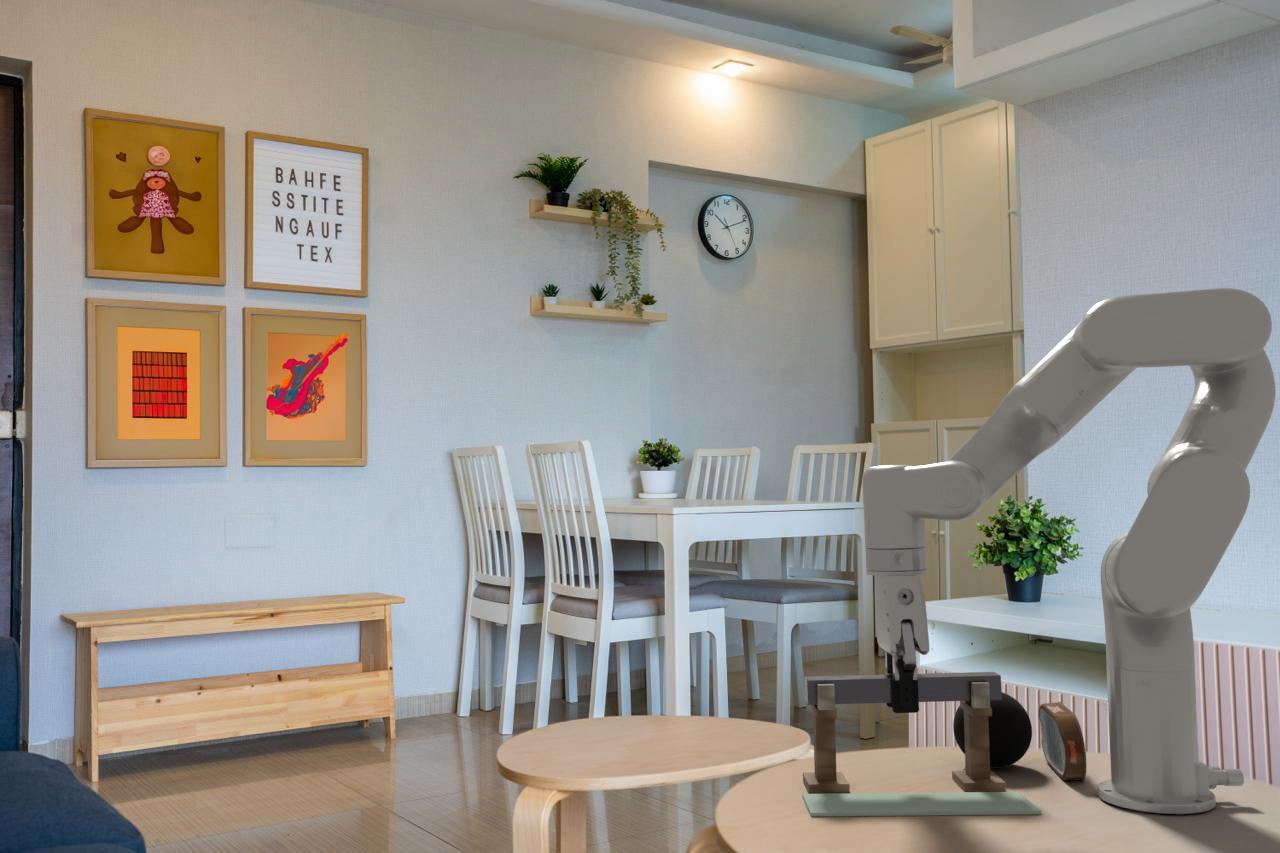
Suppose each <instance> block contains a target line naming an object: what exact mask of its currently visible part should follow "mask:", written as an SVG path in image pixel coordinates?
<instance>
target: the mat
mask: <svg viewBox="0 0 1280 853" xmlns="http://www.w3.org/2000/svg"><path fill="white" fill-rule="evenodd" d="M802 799H803V802H804V803H805V806H806V808H807V811H808V813H809V815H810V817H874V816H875V817H883V816H886V817H887V816H890V817H891V816H894V817H896V816H976V815H977V816H979V815H982V816H983V815H985V816H987V815H989V816H991V815H992V816H993V815H994V816H995V815H997V816H1000V815H1003V816H1004V815H1005V816H1006V815H1042V810H1041V809H1040V808H1039V807H1037V806H1036V805H1035V804H1034V803H1033V802H1031V801H1030V799H1028V798H1027V797H1025V795H1023V794H1022V792H1020V791H963V792H960V791H959V792H956V791H955V792H953V791H952V792H876V793H875V792H874V793H873V792H870V793H863V792H860V793H856V792H855V793H853V792H851V793H850V792H849V793H802Z"/></svg>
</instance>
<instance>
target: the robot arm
mask: <svg viewBox="0 0 1280 853" xmlns="http://www.w3.org/2000/svg"><path fill="white" fill-rule="evenodd" d="M1272 325H1273V321H1272V316H1271V313H1270V311H1269V308H1268V307H1267V306H1266V304H1265V303H1264V302H1263V301H1262V300H1261V299H1260V298H1259V297H1257V296H1256V295H1255V294H1253V293H1251V292H1248V291H1246V290H1243V289H1239V288H1233V287H1231V288H1229V287H1223V288H1219V287H1218V288H1208V289H1207V288H1206V289H1195V290H1183V291H1171V292H1161V293H1159V292H1158V293H1156V292H1155V293H1145V294H1144V293H1143V294H1130V295H1120V296H1113V297H1109V298H1106V299H1103V300H1101V301H1099V302H1097V303H1095V304H1094V305H1093V306H1092V307H1091V308H1090V309H1088V311H1087V312H1086V313H1085V315H1084V316H1083V318H1082V319H1081V321H1080V322H1079V323H1078V324H1076V326H1075V327H1074V328H1073V329H1071V331H1070V332H1069V333H1067V335H1065V337H1063V339H1062V340H1060V341H1059V343H1057V344H1056V345H1055V346H1054V347H1053V348H1052V349H1050V351H1049V352H1048V353H1047V354H1045V355H1044V356H1043V358H1042V359H1041V360H1040V361H1038V363H1037V364H1035V366H1033V367H1032V368H1031V369H1030V370H1029V371H1028V372H1027V373H1026V374H1025V375H1024V376H1023V377H1022V378H1021V379H1020V380H1018V381H1017V383H1015V384H1014V385H1013V386H1012V388H1010V390H1009V391H1008V392H1007V394H1006V395H1004V397H1003V398H1002V399H1001V401H1000V403H999V405H998V406H997V408H996V409H995V410H994V412H993V413H992V414H991V415H990V417H989V418H988V419H987V420H986V421H985V423H984V424H982V425H981V427H980V428H978V430H976V432H975V433H973V435H971V437H970V438H968V440H967V441H966V442H965V443H963V444H962V445H961V446H960V447H959V448H958V449H957V450H956V451H955V452H954V453H953V454H952V455H951V456H950V457H949V458H948V459H947V460H946V461H942V462H937V463H931V464H925V465H916V466H915V465H912V464H886V465H874V466H870V467H868V468H867V469H865V471H864V473H863V474H862V498H863V502H862V503H863V525H864V546H865V547H864V549H865V571H866V572H865V573H866V575H867V576H874V587H873V588H874V605H875V606H874V611H875V616H874V617H875V630H876V631H875V632H876V640H877V644H878V646H879V647H880V648H881V649H882V650H884V657H885V658H884V662H885V664H884V666H885V669H884V670H885V671H884V672H885V675H889V674H893V677H894V680H891V690H892V703H885V704H886V706H887V707H888V708H892V712H893V713H895V714H915V713H918V712H920V702H919V696H918V680H917V674H918V666H917V654H916V653H918V654H920V655H923V656H927V655H928V653H929V652H930V639H929V638H930V636H929V627H928V614H927V604H926V595H925V588H924V581H923V576H922V575H926V574H928V562H927V544H926V543H927V542H926V540H927V539H926V519H927V520H937V521H943V522H953V523H956V522H963V521H967V520H969V519H971V518H973V517H975V515H977V514H978V513H979V512H980V510H981V509H982V508H983V507H984V506H985V505H986V504H987V503H988V502H990V500H991V499H992V498H994V496H995V495H997V494H998V493H999V492H1000V491H1001V490H1002V489H1003V488H1004V487H1005V486H1006V485H1007V484H1008V483H1010V481H1012V479H1014V478H1015V477H1016V476H1017V475H1018V474H1019V473H1020V472H1021V471H1022V470H1023V469H1024V468H1025V467H1026V466H1028V465H1029V463H1031V462H1032V461H1033V460H1035V459H1036V458H1038V456H1040V455H1041V454H1043V453H1044V452H1046V451H1047V450H1049V449H1050V448H1052V447H1053V446H1054V445H1056V444H1057V443H1059V441H1060V440H1062V438H1063V437H1065V435H1067V434H1068V433H1069V432H1071V430H1073V428H1074V427H1075V426H1077V425H1078V423H1079V422H1081V421H1082V420H1083V419H1084V418H1085V417H1086V416H1087V415H1088V414H1089V413H1090V412H1091V411H1092V410H1093V409H1095V407H1096V406H1098V405H1099V404H1100V403H1101V402H1102V401H1103V400H1104V399H1105V398H1106V397H1107V396H1108V395H1109V394H1110V393H1112V391H1114V389H1116V388H1117V387H1118V386H1119V385H1120V384H1121V383H1122V382H1123V381H1125V379H1126V378H1128V376H1129V375H1130V374H1132V373H1133V372H1134V371H1135V370H1136V369H1138V368H1165V367H1185V366H1188V367H1189V368H1190V370H1191V372H1192V375H1193V379H1194V390H1193V394H1192V397H1191V400H1190V402H1189V404H1188V406H1187V408H1186V410H1185V411H1184V415H1183V417H1182V419H1181V421H1180V423H1179V424H1178V426H1177V429H1176V430H1175V433H1174V434H1173V436H1172V437H1171V439H1170V442H1169V443H1168V444H1167V447H1166V449H1165V451H1164V452H1163V454H1162V455H1161V457H1160V459H1158V460H1159V461H1158V462H1157V463H1156V465H1155V466H1154V468H1153V469H1152V471H1151V473H1150V474H1149V478H1148V480H1147V484H1146V486H1147V487H1146V494H1147V497H1146V499H1145V501H1144V503H1143V505H1142V507H1141V508H1140V510H1139V513H1138V514H1137V516H1136V518H1135V520H1134V522H1133V524H1132V525H1131V527H1130V529H1129V531H1128V532H1125V533H1123V534H1121V535H1120V536H1117V538H1115V539H1114V540H1113V541H1112V542H1111V543H1110V544H1109V546H1108V547H1107V548H1106V550H1105V552H1104V554H1103V557H1102V560H1101V563H1100V564H1101V565H1100V588H1101V597H1102V598H1101V599H1102V609H1103V610H1102V611H1103V621H1104V634H1105V635H1104V636H1105V637H1104V638H1105V653H1106V656H1105V658H1106V682H1107V684H1106V686H1107V703H1108V704H1107V707H1108V710H1107V711H1108V728H1109V729H1108V731H1109V732H1108V733H1109V735H1108V736H1109V754H1110V755H1109V757H1110V777H1111V778H1109V779H1106V780H1103V781H1101V782H1099V783H1098V785H1097V795H1098V797H1099V799H1101V800H1102V801H1104V802H1106V803H1109V804H1111V805H1113V806H1117V807H1120V808H1124V809H1126V810H1127V809H1128V810H1132V811H1137V812H1144V813H1152V814H1153V813H1154V814H1165V815H1188V814H1199V813H1205V812H1209V811H1211V810H1212V809H1214V808H1215V807H1216V804H1217V801H1216V795H1215V794H1214V793H1213V792H1212V791H1211V790H1215V789H1216V788H1217V786H1225V787H1242V786H1243V785H1244V784H1245V783H1244V782H1245V781H1244V780H1245V779H1244V774H1243V771H1242V770H1241V769H1239V768H1222V769H1221V767H1220V766H1219V765H1217V766H1216V765H1215V766H1209V765H1208V764H1205V763H1203V762H1201V761H1200V758H1199V757H1200V756H1199V753H1200V751H1199V736H1198V733H1199V732H1198V731H1199V730H1198V714H1197V713H1198V712H1197V693H1196V671H1195V670H1196V665H1195V664H1196V662H1195V646H1194V632H1193V629H1194V628H1193V621H1192V612H1191V607H1192V606H1194V604H1195V603H1196V601H1197V600H1198V599H1199V597H1201V594H1202V593H1203V592H1204V590H1205V589H1206V586H1207V585H1208V583H1209V582H1210V580H1211V579H1212V576H1213V575H1214V573H1215V571H1216V569H1217V568H1218V565H1219V564H1220V562H1221V560H1222V558H1223V557H1224V555H1225V554H1226V553H1225V552H1226V551H1227V549H1228V547H1229V546H1230V544H1231V542H1232V540H1233V538H1234V537H1235V534H1236V532H1237V531H1238V529H1239V527H1240V525H1241V522H1242V521H1243V519H1244V516H1245V514H1246V513H1247V510H1248V505H1249V503H1250V498H1251V486H1250V480H1249V476H1248V475H1247V472H1246V470H1247V468H1248V466H1249V464H1250V462H1251V461H1252V458H1253V456H1254V454H1255V452H1256V450H1257V448H1258V445H1259V444H1260V441H1261V439H1262V438H1263V436H1264V434H1265V431H1266V429H1267V427H1268V425H1269V423H1270V421H1271V417H1272V415H1273V411H1274V406H1275V402H1276V382H1275V376H1274V372H1273V368H1272V367H1273V366H1272V364H1271V361H1270V359H1269V357H1268V354H1267V353H1266V350H1265V349H1264V348H1265V347H1266V345H1267V343H1268V342H1269V341H1270V336H1271V334H1272V327H1273V326H1272Z"/></svg>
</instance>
